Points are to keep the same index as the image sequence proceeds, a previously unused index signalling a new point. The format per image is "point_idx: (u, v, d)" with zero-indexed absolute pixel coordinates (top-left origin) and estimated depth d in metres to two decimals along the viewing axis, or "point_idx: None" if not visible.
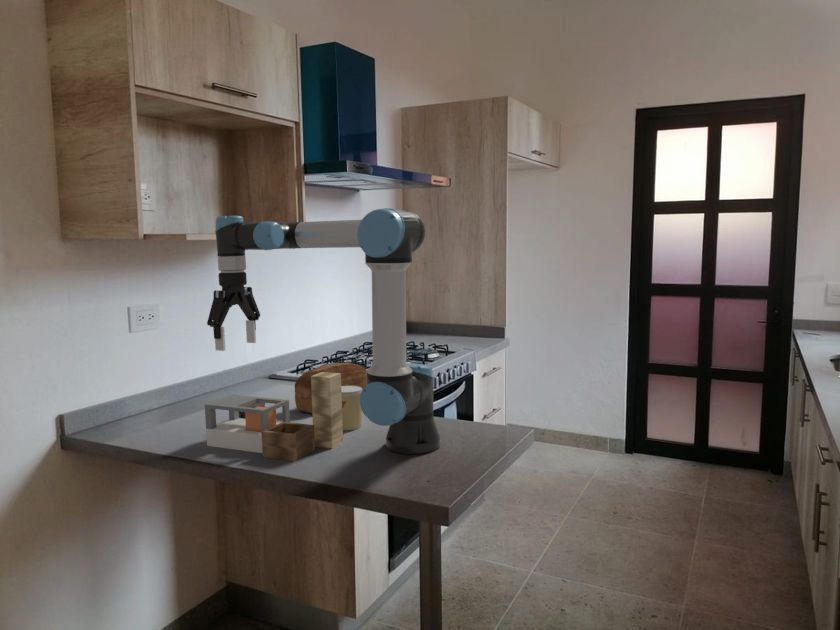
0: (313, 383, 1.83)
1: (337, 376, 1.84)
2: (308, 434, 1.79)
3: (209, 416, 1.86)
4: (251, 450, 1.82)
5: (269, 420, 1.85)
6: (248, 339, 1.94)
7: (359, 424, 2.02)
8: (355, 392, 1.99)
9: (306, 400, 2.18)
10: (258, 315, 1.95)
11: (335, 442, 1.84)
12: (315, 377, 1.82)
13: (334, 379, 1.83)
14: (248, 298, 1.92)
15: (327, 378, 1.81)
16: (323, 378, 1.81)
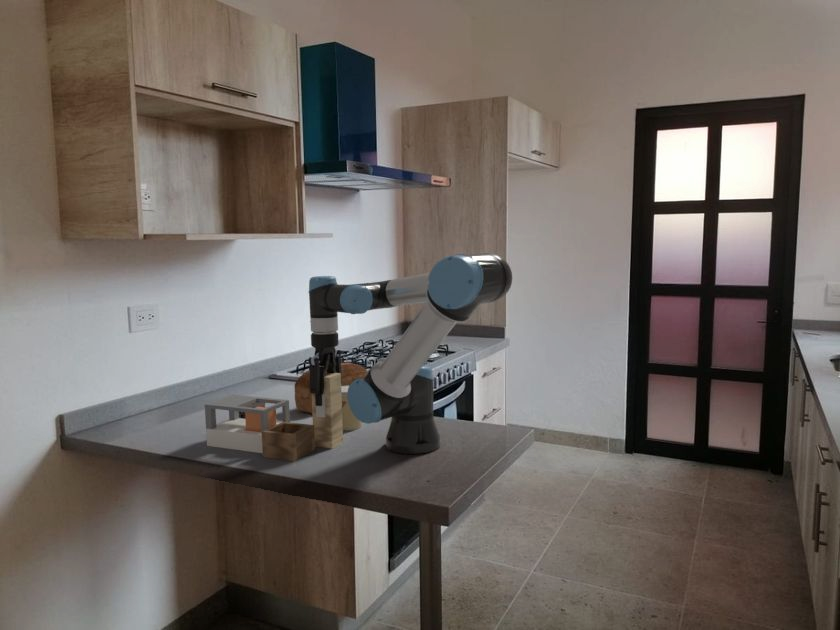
0: None
1: (337, 376, 1.84)
2: (308, 434, 1.79)
3: (209, 416, 1.86)
4: (251, 450, 1.82)
5: (269, 420, 1.85)
6: None
7: (359, 424, 2.02)
8: None
9: (305, 400, 2.18)
10: None
11: (335, 442, 1.84)
12: None
13: (334, 379, 1.83)
14: (335, 361, 1.89)
15: (327, 378, 1.81)
16: None
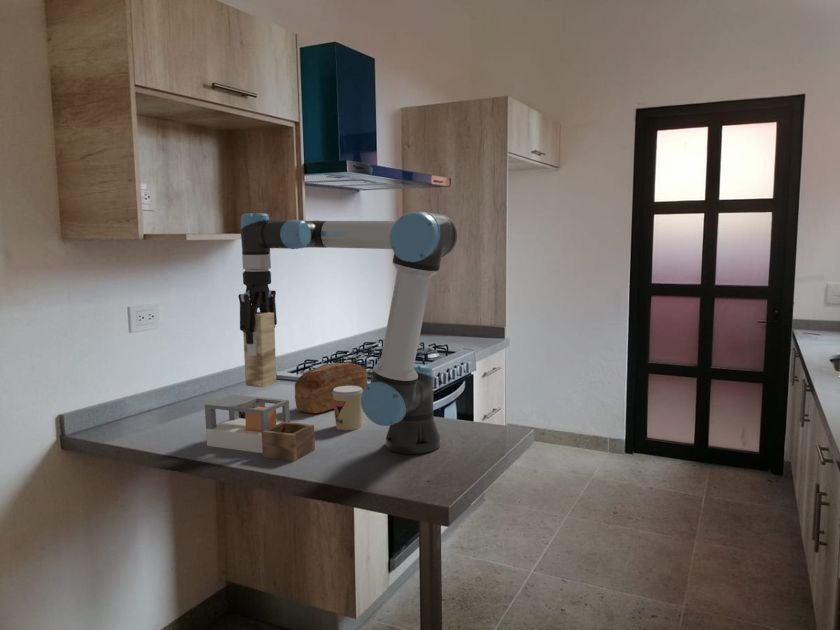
0: None
1: (269, 315, 1.83)
2: (308, 434, 1.79)
3: (209, 416, 1.86)
4: (251, 450, 1.82)
5: (269, 420, 1.85)
6: None
7: (359, 424, 2.02)
8: (355, 392, 1.99)
9: (306, 400, 2.18)
10: (274, 322, 1.88)
11: (266, 381, 1.83)
12: None
13: (266, 317, 1.81)
14: (269, 301, 1.87)
15: (258, 316, 1.79)
16: None
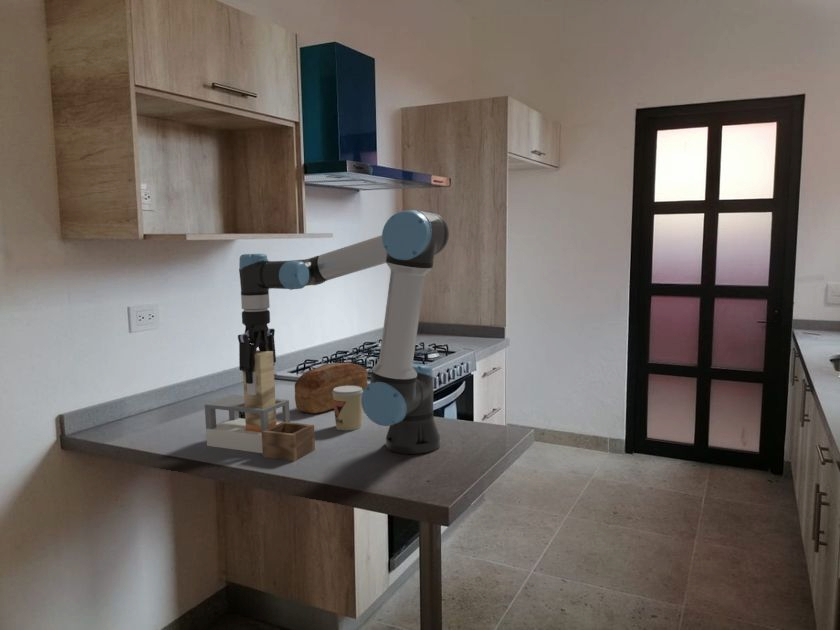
0: None
1: (269, 354, 1.84)
2: (308, 434, 1.79)
3: (209, 416, 1.86)
4: (251, 450, 1.82)
5: None
6: None
7: (359, 424, 2.02)
8: (355, 392, 1.99)
9: (306, 400, 2.18)
10: (274, 360, 1.89)
11: None
12: None
13: (265, 356, 1.83)
14: (268, 340, 1.88)
15: (257, 355, 1.81)
16: None
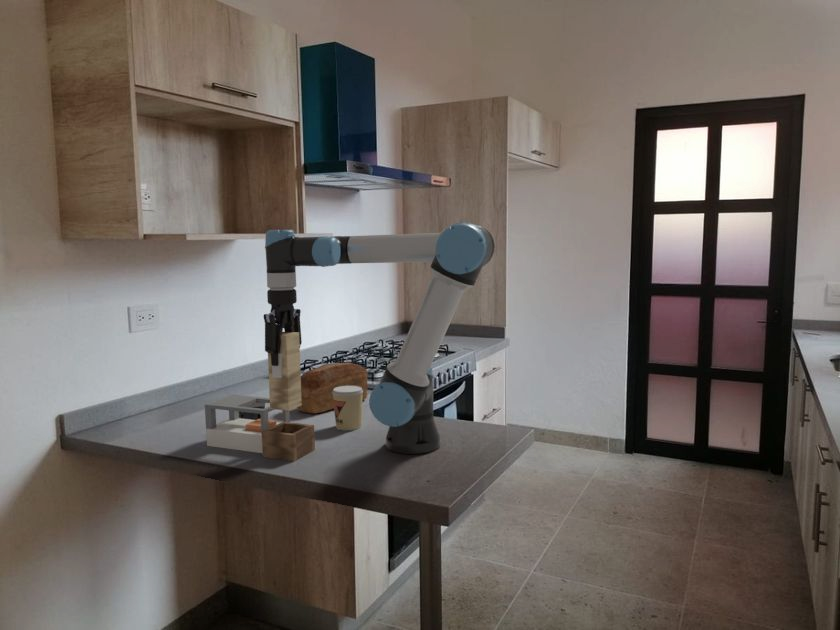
0: None
1: (295, 335, 1.76)
2: (308, 434, 1.79)
3: (209, 416, 1.86)
4: (251, 450, 1.82)
5: None
6: None
7: (359, 424, 2.02)
8: (355, 392, 1.99)
9: (306, 400, 2.18)
10: (299, 342, 1.81)
11: (292, 404, 1.76)
12: None
13: (291, 337, 1.74)
14: (294, 321, 1.80)
15: (283, 336, 1.72)
16: None
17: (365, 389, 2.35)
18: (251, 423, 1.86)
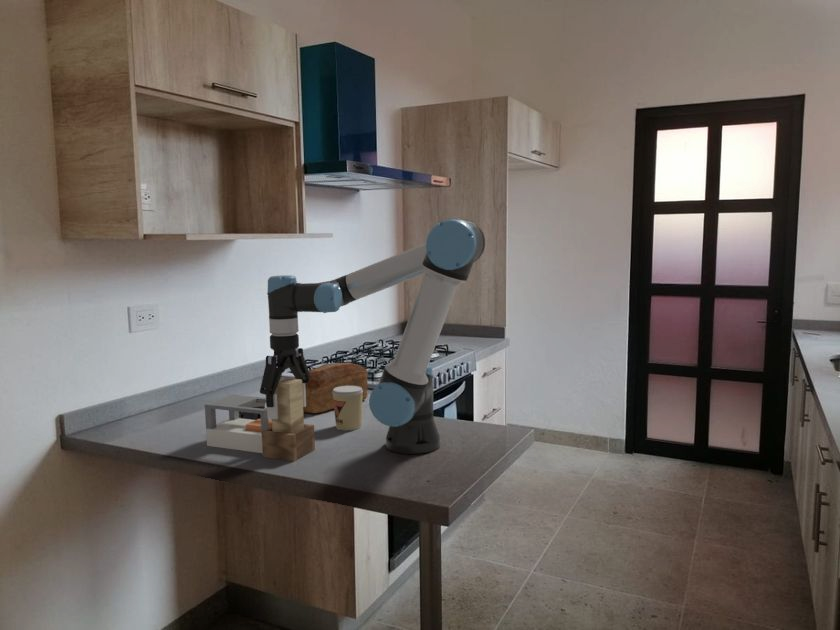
0: None
1: (298, 382, 1.77)
2: (308, 434, 1.79)
3: (209, 416, 1.86)
4: (251, 450, 1.82)
5: None
6: None
7: (359, 424, 2.02)
8: (355, 392, 1.99)
9: None
10: (308, 377, 1.85)
11: None
12: None
13: (294, 385, 1.76)
14: (299, 360, 1.82)
15: (286, 385, 1.74)
16: (282, 385, 1.74)
17: (365, 389, 2.34)
18: (251, 423, 1.86)
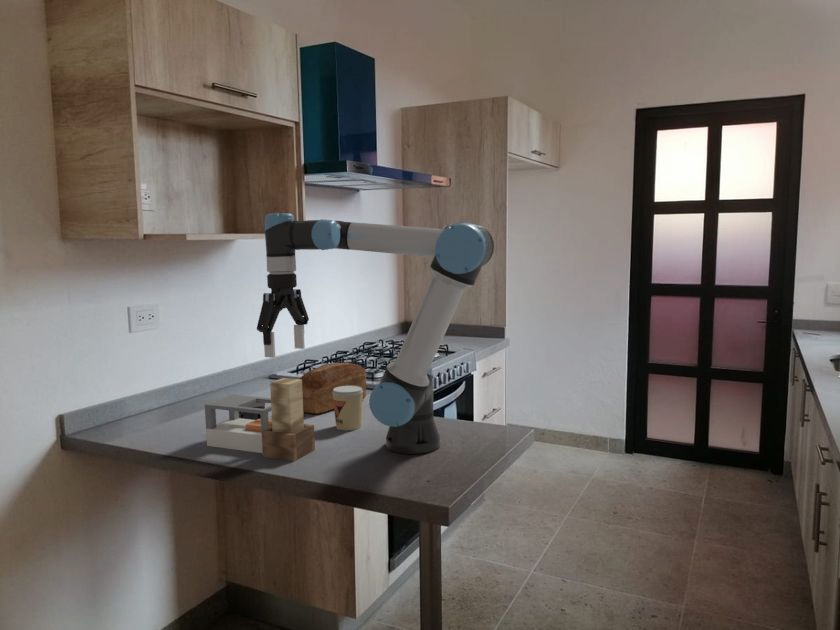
0: (272, 390, 1.76)
1: (298, 382, 1.77)
2: (308, 434, 1.79)
3: (209, 416, 1.86)
4: (251, 450, 1.82)
5: None
6: (296, 345, 1.82)
7: (359, 424, 2.02)
8: (355, 392, 1.99)
9: (308, 401, 2.17)
10: (306, 319, 1.83)
11: None
12: (274, 384, 1.75)
13: (294, 385, 1.76)
14: (297, 301, 1.80)
15: (286, 385, 1.74)
16: (282, 385, 1.74)
17: (364, 389, 2.35)
18: (251, 423, 1.86)
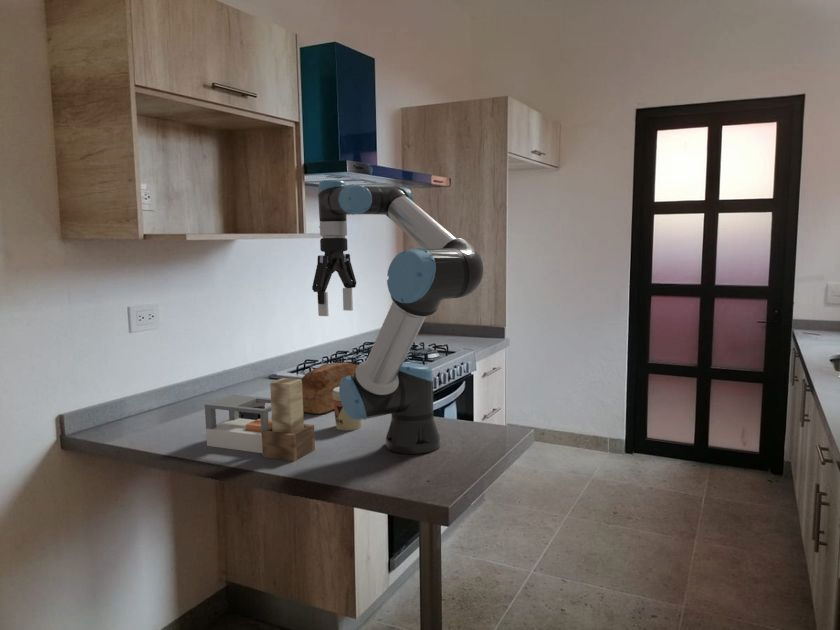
0: (272, 390, 1.76)
1: (298, 382, 1.77)
2: (308, 434, 1.79)
3: (209, 416, 1.86)
4: (251, 450, 1.82)
5: None
6: (345, 307, 1.93)
7: (359, 424, 2.02)
8: None
9: (311, 401, 2.17)
10: (354, 283, 1.94)
11: None
12: (274, 384, 1.75)
13: (294, 385, 1.76)
14: (346, 265, 1.91)
15: (286, 385, 1.74)
16: (282, 385, 1.74)
17: None
18: (251, 423, 1.86)
